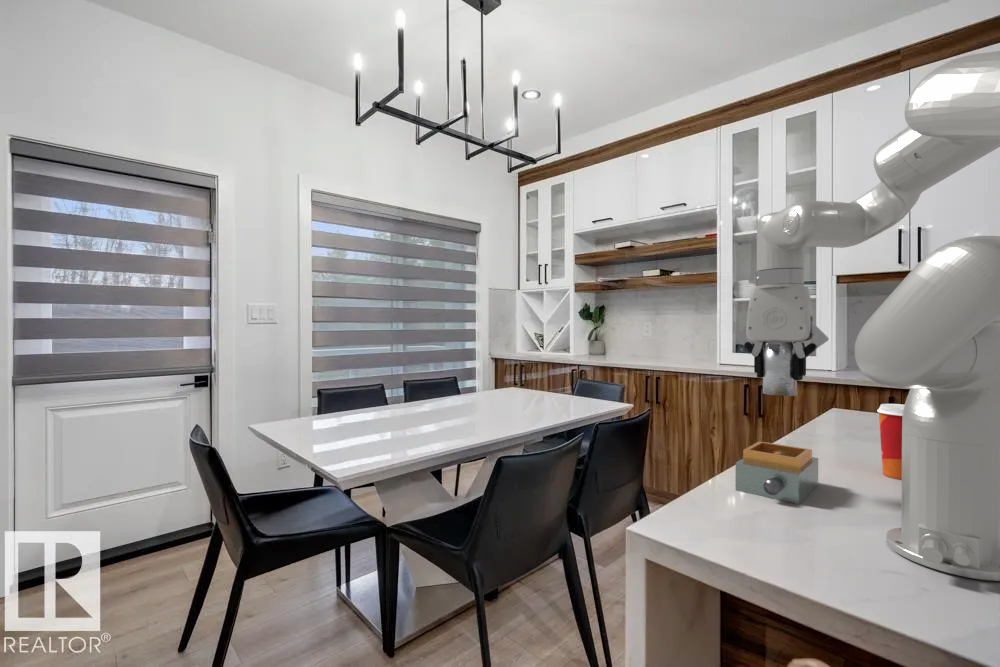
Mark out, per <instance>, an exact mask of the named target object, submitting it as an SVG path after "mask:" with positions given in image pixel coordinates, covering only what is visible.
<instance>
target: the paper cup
mask: <svg viewBox="0 0 1000 667" xmlns="http://www.w3.org/2000/svg"><path fill="white" fill-rule="evenodd" d="M904 406H905V404H900V403H880V405H879V408H878V409H877V410H876V411H877V413H878V416H879V417H878V419H879V435H880V449H881V464H882V473H883V476H885V477H886V478H887V477H888V478H890V479H893V480H898V481H902V417H903V410H904Z"/></svg>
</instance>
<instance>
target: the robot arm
mask: <svg viewBox="0 0 1000 667" xmlns="http://www.w3.org/2000/svg"><path fill="white" fill-rule="evenodd" d="M904 119H905V122H906V124H907V127H906V128H904V129H902V130H901V131H900V132H898V133H897V134H896V135H894V136H893V137H892V138H890V139H889V140H887V141H885V142H884V143H883V144H882V145H880V147H878V149H877V150H876V152H875V154H874V156H873V168H874V171H875V173H876V175H877V177H878V179H879V181H880V182H879V183H878V184H877V185H876V186H874V187H873V188H872V189H870V190H869V191H867V192H865V193H864V194H862V195H861V196H859V197H858V198H856V199H854V200H853V201H850V202H840V201H825V200H824V201H823V200H811V199H810V200H801V201H797V202H794V203H792V204H790V205H788V206H787V207H785V208H784V209H782V210H780V211H775V212H770V213H767V214H764V215H762V216H761V217H760V218H759V219H758V220H757V225H756V272H755V274H754V275H752V276H749V277H748V283H749V284H753V285H755V287H756V288H752V289H751V291H750V295H749V300H748V306H747V314H746V315H747V316H746V325H745V326H744V327H743V328H742V330H741V331H740V332H739V333H738V334H737V335H736V336H735V340H736V341H737V342H739V343H740V344H741V345H743V346H744V348H745V349H746V350H747V351H748V352H749V353H750V354H751V356H753V358H754V359H753V360H754V361H753V362H754V366H753V368H754V369H753V370H754V373H755V374H756V378H758V379H763V342H764V341H765V342H770V341H780V342H792V343H793V346H794V349H795V351H796V358H795V359H794V380H797V381H802V380H803V379H804V378H803V377H806V375H807V358H808V357H809V356H810V355H811V354H812V353H813V352H815V351H816V350H817V349H819V348H820V347H821V346H822V345H824V344H826V343H827V342H829V337H828V335H826V334H825V333H824V332H823V331H822V329H820V328H819V326H817V325H816V324H815V323H814V315H813V307H812V306H813V305H812V300H811V294H810V289H809V287H808V286H805V247H806V248H808V247H809V248H818V247H820V248H836V249H837V248H838V249H839V248H840V249H843V248H849V247H854V246H857V245H859V244H860V245H861V244H862V243H864V242H866V241H868V240H870V239H871V238H874V237H876V236H878V235H879V234H882V233H883V232H885V231H887V230H888V229H890V228H892V227H893V226H895V225H897V224H898V223H899V222H901V221H902V220H903V219H904V218H905V217H906V216H907V215H908V214H909V213H910V211H911V210H912V209H913V207H914V206H915V205H916V204H917V202H918V201H919V198H920V197H921V194H922V193H923V192H925V191H926V190H928V189H930V188H932V187H933V186H935V185H937V184H938V183H941V182H942V181H944V180H945V179H947V178H949V177H951V176H952V175H954V174H955V173H957V172H959V171H961V170H962V169H964V168H966V167H969V165H971V164H973V163H974V162H976V161H978V160H979V159H982V158H983V157H984V156H986V155H988V154H990V153H992V152H994V151H995V150H997V149H998V148H1000V50H997V51H990V52H981V53H974V54H968V55H964V56H960V57H958V58H954V59H951V60H949V61H946V62H945V63H943V64H941V65H939V66H938V67H936V68H935V69H933V70H931V71H930V72H929V73H928V74H926V75H925V76H924V77H923V78H922V79H921V80H920V81H919V82H918V84H916V86H915V87H913V89H912V91H911V92H910V94H909V96H908V99H907V101H906V103H905V107H904ZM813 336H814V337H815V339H814V340H812V339H813ZM810 340H812V342H811V343H809V344H807V345H806V343H805V342H806V341H810ZM753 342H755V343H753ZM854 358H855V359H854V360H855V363H856V365H857V367H858V369H859V370H860V371H861V373H862V374H863V375H864V376H865V377H867V378H868V379H869V380H871V381H873V382H874V383H875V384H876V383H877V384H879V385H882V386H886V387H889V388H894V389H895V388H896V389H909V391H908V395H907V396H906V400H905V402H904V405H905V406H904V410H903V417H902V480H901V500H900V501H901V503H900V504H901V508H900V509H901V512H900V513H901V514H900V516H901V518H900V519H901V521H900V522H901V523H900V527H896V528H892V529H890V530H888V531H887V532H886V538H885V539H886V544H887V545H888V546H889V547H890V548H891V549H892V550H893V551H894V552H896V553H897V554H899V555H900V556H901V557H904V558H906V559H908V560H909V561H912V562H914V563H916V564H919V565H922V566H924V567H928V568H930V569H933V570H937V571H939V572H943V573H946V574H951V575H955V576H958V577H964V578H969V579H975V580H981V581H994V582H1000V236H999V235H976V236H967V237H962V238H958V239H956V240H953V241H950V242H948V243H946V244H944V245H941V246H940V247H938V248H936V249H935V250H933V251H931V252H930V253H929V254H928V255H926V256H925V257H924V258H923V259H921V260H920V261H919V262H918V263H917V264H916V265H915V267H914V268H913V269H912V270H910V272H909V273H908V274H907V275H906V276H905V277H904V279H903V280H902V281H901V282H900V283H899V284H898V285H897V286H896V287H895V289H894V290H893V291H892V292H891V293H890V294H889V296H888V297H886V299H884V301H883V302H882V303H881V305H880V306H878V308H877V309H876V310H875V311H874V312H873V313H872V314H871V316H870V317H869V318H868V320H866V322H865V323H864V325H862V327H861V329H860V331H859V333H858V335H857V337H856V340H855V343H854Z"/></svg>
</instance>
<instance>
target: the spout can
mask: <svg viewBox="0 0 1000 667" xmlns="http://www.w3.org/2000/svg"><path fill="white" fill-rule="evenodd" d="M795 358H796V351H795V349H794V346H793V343H792V342H780V341H770V342H765V341H764V342H763V378H762V394H765V395H771V396H778V397H780V396H781V397H792V396H793V397H794V396H798V394H797V393H798V390H797V389H798V382H797V380H794V359H795Z"/></svg>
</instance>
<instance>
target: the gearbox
mask: <svg viewBox="0 0 1000 667" xmlns="http://www.w3.org/2000/svg"><path fill="white" fill-rule="evenodd" d="M742 452H743V454H742V456H743V458H742V459H739V460H738V461H735V491H738V492H739V491H740V492H744V493H748V494H751V495H756V496H761V497H765V498H769V499H774V500H779V501H783V502H786V501H787V502H788V503H791V504H795V503H796V505H800V504H801V502H803V501H804V499H806V497H807V496H808V495H809V494H810V493H811V492H812V491H813V490H814V489H815V488H817V486H818V485H819V458H818V457H813V449H811V448H805V447H797V446H792V445H785V444H777V443H771V442H765V441H757V442H755V443H753V444H752V445H749V446H748V447H746V448H744V449H743V450H742Z"/></svg>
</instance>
